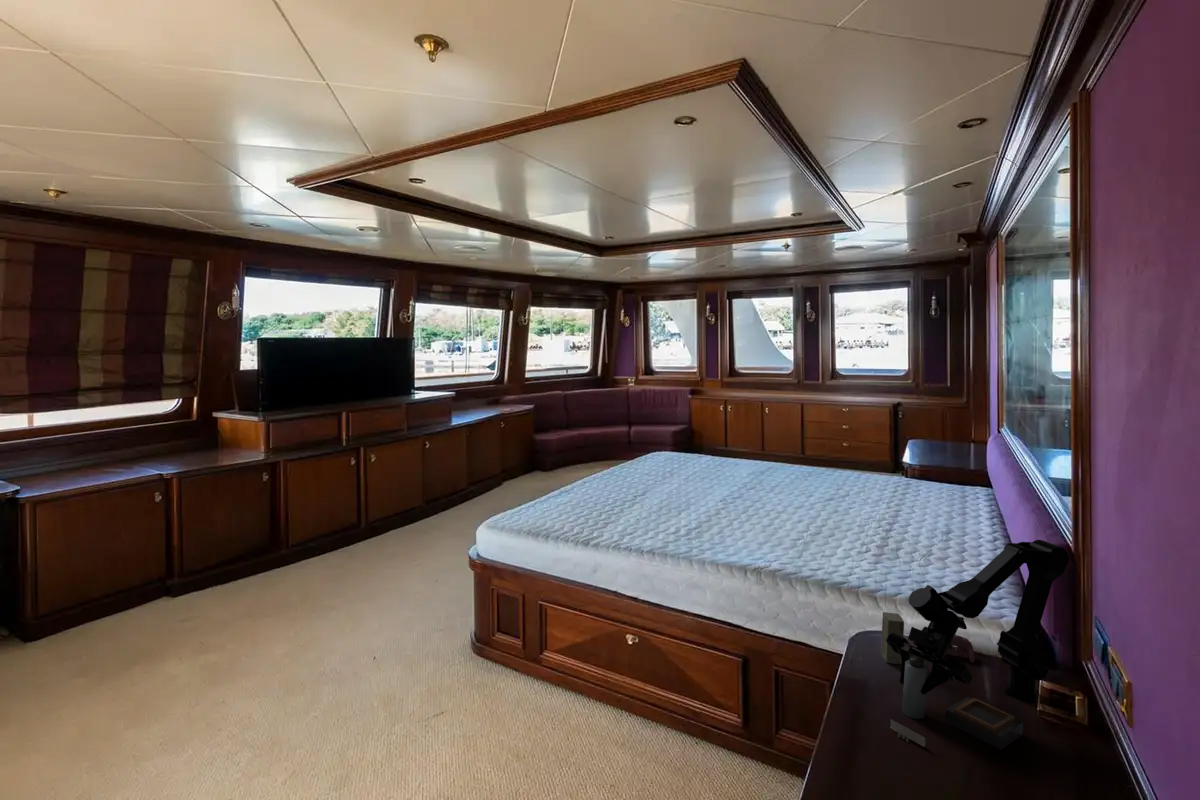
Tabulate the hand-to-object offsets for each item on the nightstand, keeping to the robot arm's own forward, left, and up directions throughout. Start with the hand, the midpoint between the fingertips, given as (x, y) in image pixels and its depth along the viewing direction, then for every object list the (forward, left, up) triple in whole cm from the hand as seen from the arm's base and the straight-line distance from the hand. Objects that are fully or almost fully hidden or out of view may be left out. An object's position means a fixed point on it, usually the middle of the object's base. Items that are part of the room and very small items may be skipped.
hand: (911, 688), depth 146 cm
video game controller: (-40, 0, -7) cm, 40 cm away
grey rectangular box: (-6, +14, -7) cm, 17 cm away
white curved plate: (+11, +2, -7) cm, 14 cm away
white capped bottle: (-1, 0, -7) cm, 7 cm away
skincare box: (-25, -12, -7) cm, 29 cm away
